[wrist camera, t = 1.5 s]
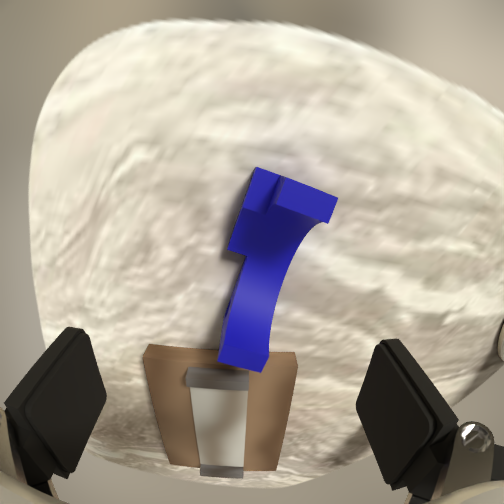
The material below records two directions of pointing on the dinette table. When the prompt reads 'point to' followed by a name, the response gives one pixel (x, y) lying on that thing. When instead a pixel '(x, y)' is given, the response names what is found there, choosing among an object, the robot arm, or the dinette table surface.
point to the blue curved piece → (266, 260)
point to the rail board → (220, 409)
